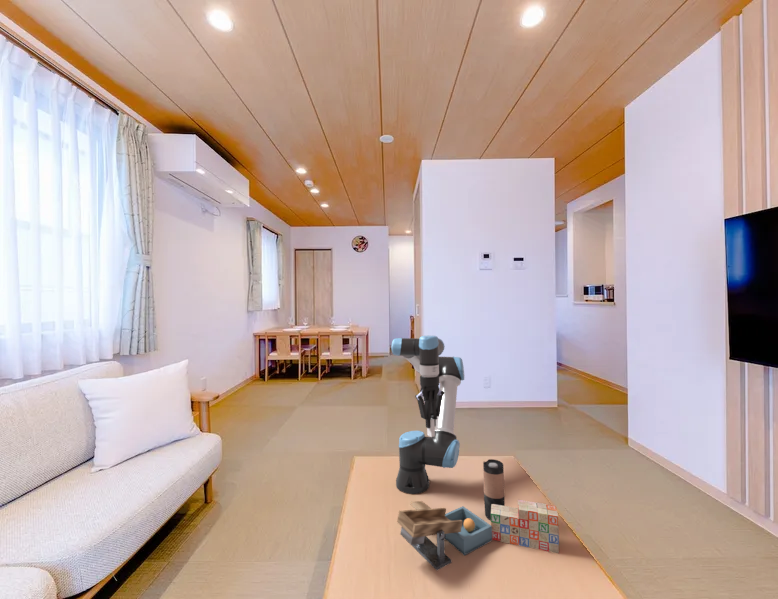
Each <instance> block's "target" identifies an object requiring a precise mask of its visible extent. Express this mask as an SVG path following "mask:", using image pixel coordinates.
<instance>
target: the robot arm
mask: <svg viewBox="0 0 778 599" xmlns="http://www.w3.org/2000/svg"><path fill="white" fill-rule="evenodd" d="M444 350H445V343H444V341H443V340H442V339H441V338H439V337H438V336H436V335H422V336H420V337H419V338H405V337H404V338H403V337H400V338H399V337H398V338H393V340H392V342H391V353H392V355H394V356H398V357H400V356H401V357H403V358H405V360H406V361H408V362H409V363H410V364H411V365H412V366H413V368H414V370H415V371H416V372H417V373H418V374H419V375H420V377H419V385H420V391H419V393H418V394H415V396H414V398H415V399H416V400H417V405H418V410H419V414H420V418H422V419H423V420H425V428H426V434H427V436H426V435H425V433H424V431H421V430H410V431H406V432H404V433H402V434H401V435H400V436H399V438H398V439H399V440H398V457H399V458H398V459H399V470H398V472H397V475H396V480H395V486H396V489H398V490H399V491H400V492H402V493H405V494H411V495H413V494H422V493H424V492H427V491H428V490H429V488H430V477H429V476H428V473H427V469H426V466H433V467H437V468H438V467H439V468H443V469H445V468H447V469H448V468H449V469H453V468H454V467H456V466H457V462H458V459H459V455H460V446H461V444H460V441H459V439H457V435H456V433H455V431H454V430H455V422H456V420H455V419H456V408H457V395H458V387H459V386H460V385H461V383H462V382H461V381H464V380H465V369H464V363H463V359H462V357H459V356H441V355H442V354H443V352H444Z"/></svg>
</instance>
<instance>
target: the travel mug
mask: <svg viewBox="0 0 778 599" xmlns="http://www.w3.org/2000/svg"><path fill="white" fill-rule="evenodd" d="M482 463H483V469H482V470H483V501H484V502H483V503H484V516H485V517H486V518H487V520H489V521H491V505H492V504H496V505H502V506H506V505H505V504H506V502H505V500H506V498H505V497H506V495H505V474H504V472H505V471H504V463H503V462H502V461H500V460H498V459H493V458H490V459H487V460H486V461H483V462H482Z"/></svg>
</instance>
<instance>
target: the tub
mask: <svg viewBox="0 0 778 599" xmlns="http://www.w3.org/2000/svg"><path fill="white" fill-rule="evenodd" d="M445 517H447V518H448V519H449V520H451V521H454V520H462V528H461V532H457V533H448V534H445V535H446V538H445V540H444V541H446V542H448V543H449V544H450V545H452V546H453V547H454V549H456V550H457V551H458V552H459V553H460V554H462V555H463V556H464V557H465V556H466V555H469V554H471V553H472V552H474V551H476V550H478V549H480V548H481V547H483V546H485V545H487V544H489V543H490V542H492V541H493V540H492V526H491V523H490V524H489V522H487V521H485V520H484V519H483V518H481V517H479V516H478V515H476V514H475V513H474V512H472V511H471V510H469V509H468V508H466V507H465V506H464V505H463V506H460V507H458V508H456V509H453V510H451V511H449V512H446V513H445ZM467 518H470V519H472V520H473V521H474V523H475V528H474V530H473V531H471V532H469V531H467V530H466V529H465V528H464V520H465V519H467Z"/></svg>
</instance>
